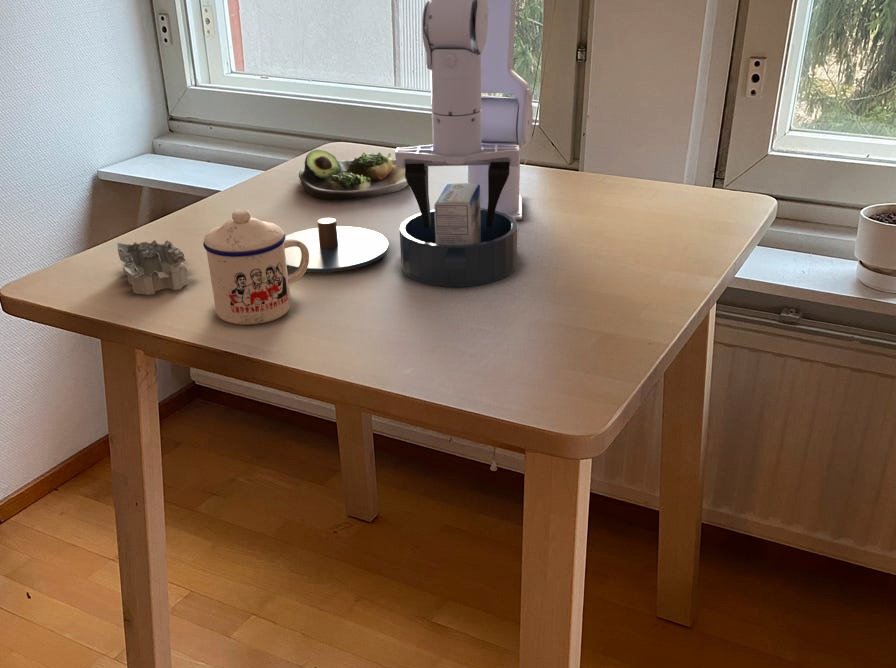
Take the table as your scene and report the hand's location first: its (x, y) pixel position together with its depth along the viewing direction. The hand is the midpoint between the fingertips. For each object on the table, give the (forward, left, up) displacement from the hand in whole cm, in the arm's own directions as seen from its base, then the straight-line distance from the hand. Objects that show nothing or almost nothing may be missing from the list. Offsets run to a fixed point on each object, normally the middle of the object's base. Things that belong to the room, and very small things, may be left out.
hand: (458, 225), depth 123 cm
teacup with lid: (+13, -22, -5) cm, 26 cm away
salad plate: (-34, -18, -5) cm, 39 cm away
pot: (0, 0, -5) cm, 5 cm away
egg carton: (+4, -38, -5) cm, 39 cm away
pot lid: (-4, -17, -4) cm, 18 cm away
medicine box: (0, 0, -5) cm, 5 cm away
